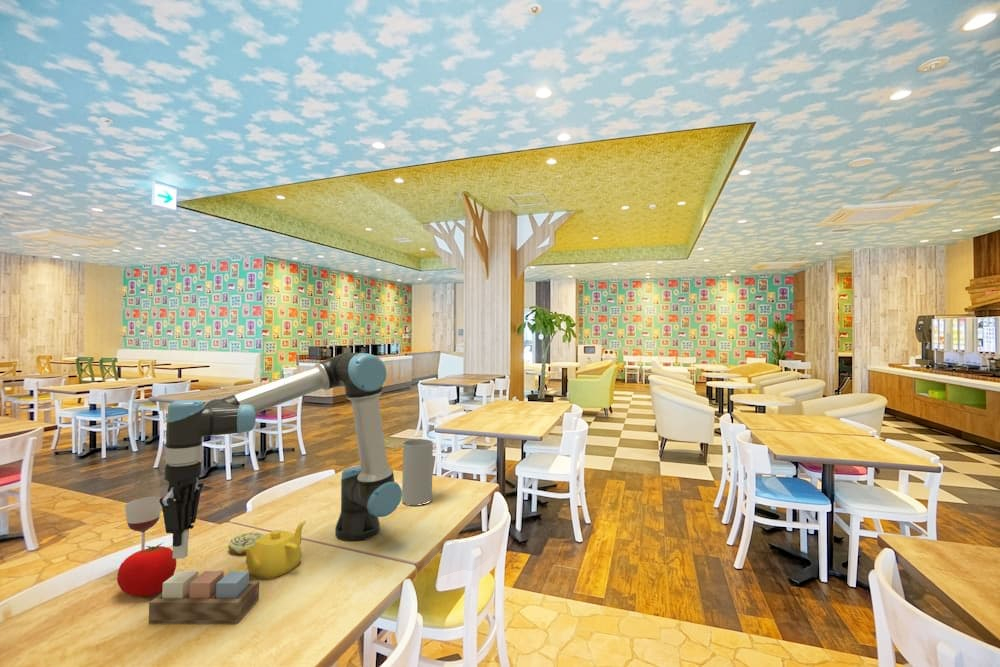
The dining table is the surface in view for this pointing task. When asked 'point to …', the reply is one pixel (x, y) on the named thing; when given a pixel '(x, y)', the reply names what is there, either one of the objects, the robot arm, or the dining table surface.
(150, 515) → the wineglass
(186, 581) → the ivory key
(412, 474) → the cylinder vase
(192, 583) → the terracotta key
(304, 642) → the dining table surface
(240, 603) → the key block
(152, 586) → the tomato
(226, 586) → the slate key
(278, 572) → the teapot
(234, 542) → the decorated donut
